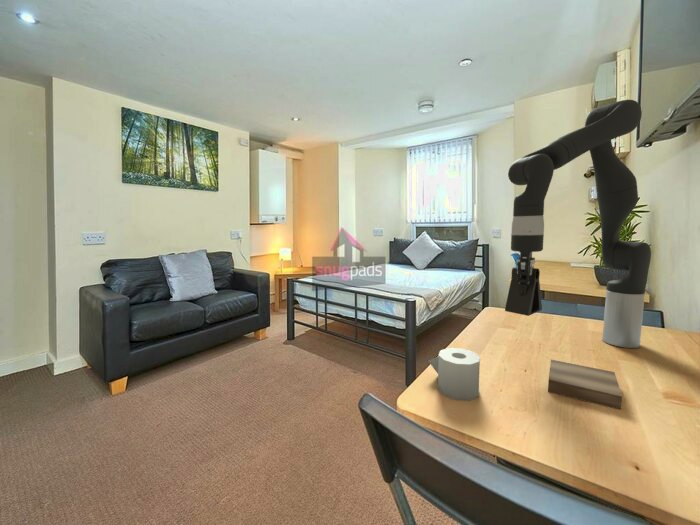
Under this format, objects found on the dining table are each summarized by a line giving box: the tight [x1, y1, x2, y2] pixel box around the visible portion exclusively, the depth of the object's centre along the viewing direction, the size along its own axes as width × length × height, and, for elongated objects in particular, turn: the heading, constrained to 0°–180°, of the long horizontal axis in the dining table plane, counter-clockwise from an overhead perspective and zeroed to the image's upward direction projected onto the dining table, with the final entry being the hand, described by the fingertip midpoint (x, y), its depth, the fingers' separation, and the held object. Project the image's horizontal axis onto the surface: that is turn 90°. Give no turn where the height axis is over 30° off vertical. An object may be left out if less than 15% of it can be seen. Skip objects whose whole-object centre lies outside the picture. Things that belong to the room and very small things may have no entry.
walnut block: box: [547, 359, 623, 411], centre depth 73 cm, size 13×13×3 cm
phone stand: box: [504, 266, 543, 317], centre depth 83 cm, size 9×6×12 cm, turn 127°
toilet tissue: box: [427, 347, 481, 402], centre depth 74 cm, size 9×13×9 cm
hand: (524, 295), depth 84 cm, fingers closed on phone stand, 3 cm apart
